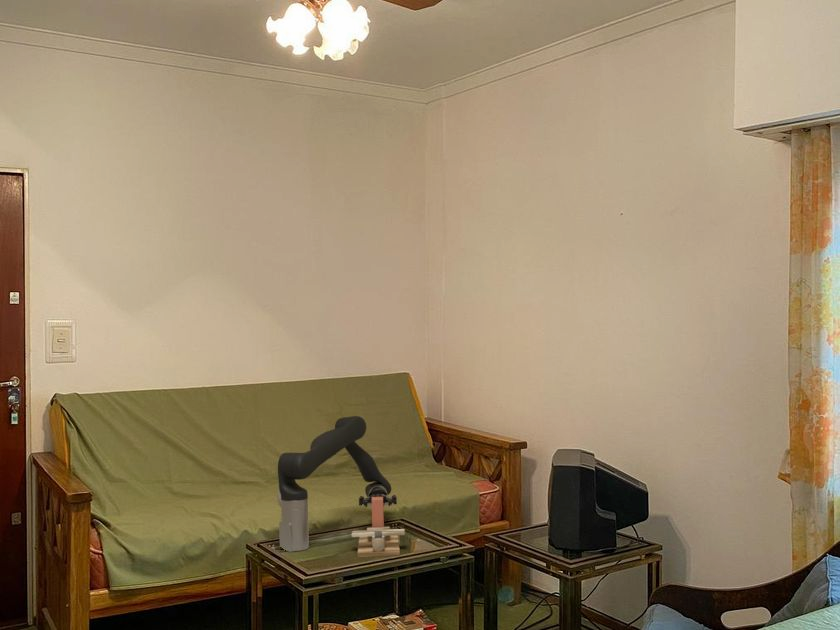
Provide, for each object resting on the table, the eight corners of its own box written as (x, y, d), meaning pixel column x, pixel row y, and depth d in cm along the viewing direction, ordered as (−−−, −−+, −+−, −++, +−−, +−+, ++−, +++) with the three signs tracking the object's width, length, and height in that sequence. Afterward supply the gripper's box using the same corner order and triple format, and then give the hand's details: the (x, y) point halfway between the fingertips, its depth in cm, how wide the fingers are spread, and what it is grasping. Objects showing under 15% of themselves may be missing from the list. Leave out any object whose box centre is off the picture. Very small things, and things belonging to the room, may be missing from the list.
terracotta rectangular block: (384, 539, 300) (382, 500, 300) (372, 540, 300) (371, 500, 300) (384, 535, 307) (382, 496, 307) (372, 536, 307) (371, 497, 307)
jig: (405, 555, 282) (405, 534, 282) (351, 557, 281) (350, 536, 281) (403, 536, 310) (403, 517, 310) (354, 538, 309) (353, 519, 309)
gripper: (359, 487, 331) (358, 494, 314) (396, 486, 331) (396, 492, 315) (359, 506, 330) (358, 514, 314) (396, 505, 331) (397, 513, 315)
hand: (377, 503), depth 315 cm, fingers open, 8 cm apart
